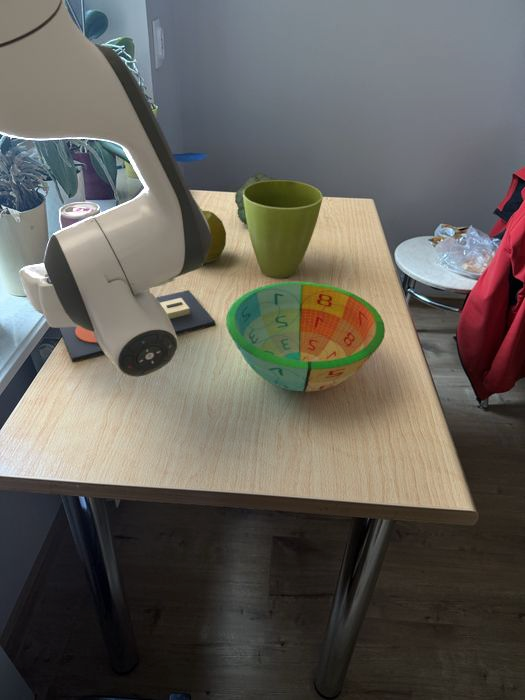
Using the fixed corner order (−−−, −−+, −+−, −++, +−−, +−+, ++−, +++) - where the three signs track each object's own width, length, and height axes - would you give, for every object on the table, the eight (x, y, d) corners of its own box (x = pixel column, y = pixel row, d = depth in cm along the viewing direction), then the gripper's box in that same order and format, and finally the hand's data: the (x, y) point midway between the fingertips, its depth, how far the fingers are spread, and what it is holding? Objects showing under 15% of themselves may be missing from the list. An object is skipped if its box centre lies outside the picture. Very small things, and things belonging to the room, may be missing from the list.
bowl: (243, 325, 91) (243, 273, 85) (374, 341, 88) (384, 289, 82) (210, 412, 73) (208, 354, 67) (374, 436, 70) (386, 377, 64)
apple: (189, 246, 116) (187, 197, 109) (232, 252, 114) (232, 203, 108) (172, 266, 108) (168, 215, 102) (217, 273, 106) (216, 221, 100)
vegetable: (284, 200, 135) (304, 192, 120) (256, 241, 134) (273, 239, 120) (246, 170, 131) (261, 158, 117) (217, 213, 131) (229, 206, 116)
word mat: (72, 362, 81) (69, 351, 80) (56, 324, 90) (54, 313, 89) (215, 325, 91) (215, 314, 90) (189, 293, 99) (188, 283, 98)
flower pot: (323, 286, 103) (331, 206, 94) (247, 290, 101) (248, 209, 92) (306, 252, 115) (312, 179, 106) (238, 255, 113) (238, 180, 104)
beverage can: (110, 310, 82) (94, 217, 73) (71, 309, 82) (51, 216, 73) (119, 291, 87) (106, 202, 78) (83, 290, 87) (65, 200, 78)
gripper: (183, 256, 73) (150, 220, 82) (25, 287, 64) (9, 244, 74) (186, 296, 76) (154, 257, 86) (37, 331, 68) (20, 284, 78)
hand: (86, 251), depth 80 cm, fingers closed on beverage can, 6 cm apart
